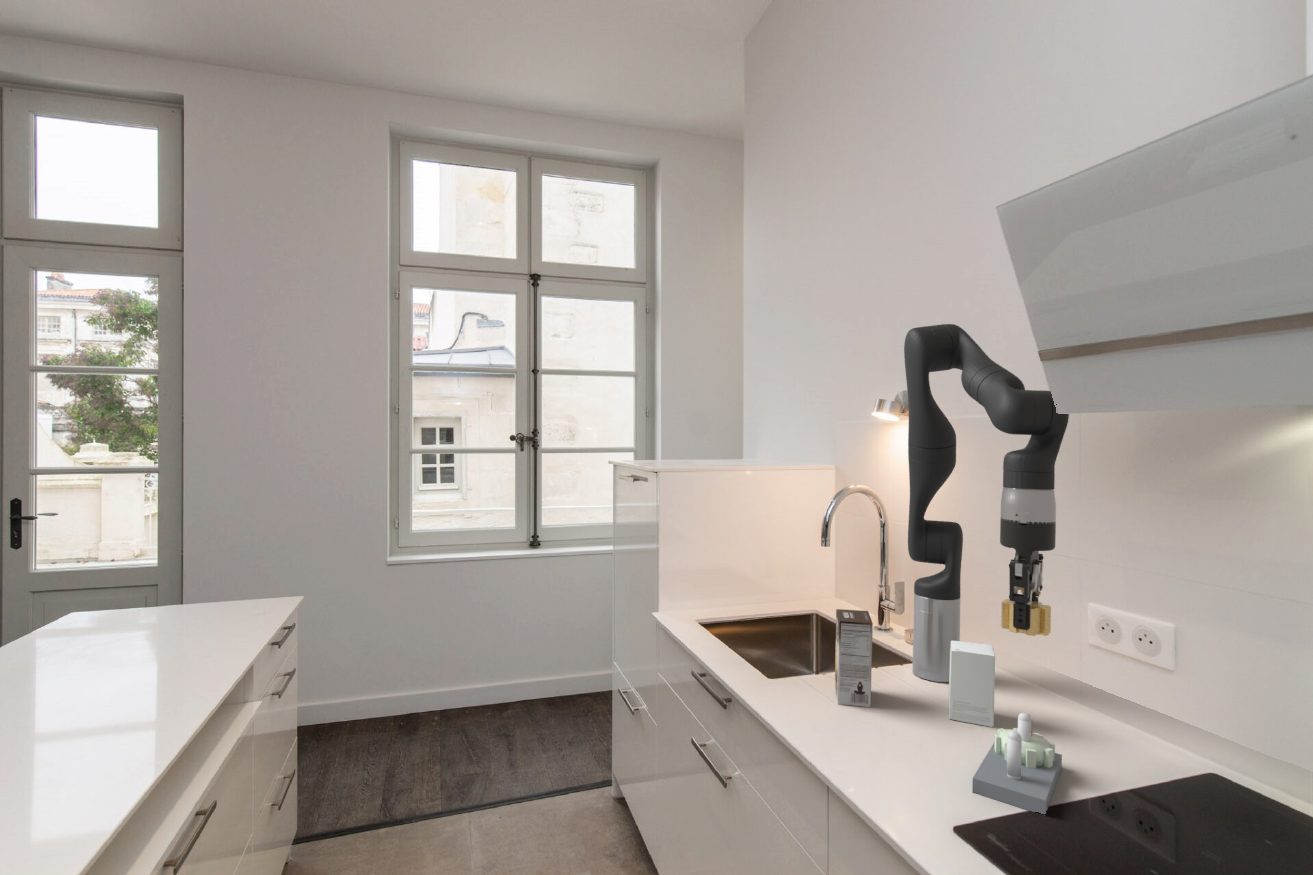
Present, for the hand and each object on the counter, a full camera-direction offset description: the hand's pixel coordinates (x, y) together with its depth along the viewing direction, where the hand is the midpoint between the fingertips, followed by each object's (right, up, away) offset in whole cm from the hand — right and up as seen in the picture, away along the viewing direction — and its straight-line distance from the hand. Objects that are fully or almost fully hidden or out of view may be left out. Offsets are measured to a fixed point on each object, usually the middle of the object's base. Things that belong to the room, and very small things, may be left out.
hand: (1025, 623), depth 101 cm
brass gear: (0, -1, 0) cm, 1 cm away
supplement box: (0, -22, +18) cm, 28 cm away
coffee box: (-19, -22, +25) cm, 39 cm away
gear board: (-4, -22, -5) cm, 23 cm away
